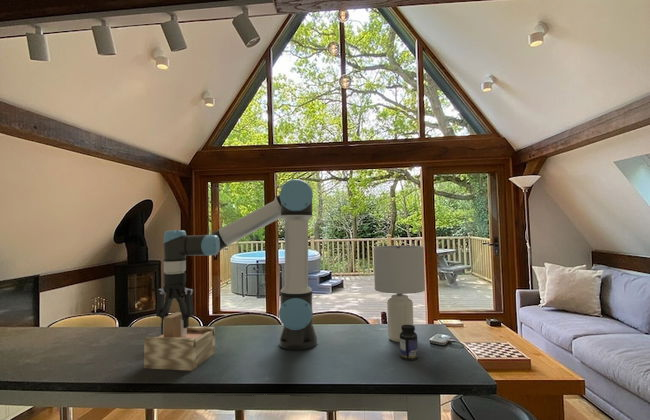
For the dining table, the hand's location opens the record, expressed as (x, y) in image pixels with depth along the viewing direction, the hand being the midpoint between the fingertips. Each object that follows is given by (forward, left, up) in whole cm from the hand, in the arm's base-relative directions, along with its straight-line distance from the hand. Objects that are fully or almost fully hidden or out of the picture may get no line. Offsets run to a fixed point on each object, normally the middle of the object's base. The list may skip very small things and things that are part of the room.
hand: (175, 336), depth 129 cm
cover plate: (-2, 0, -2) cm, 2 cm away
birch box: (-3, 0, -9) cm, 9 cm away
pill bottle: (-84, -12, -9) cm, 85 cm away
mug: (+8, -14, -9) cm, 19 cm away
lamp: (-82, -32, -9) cm, 88 cm away
